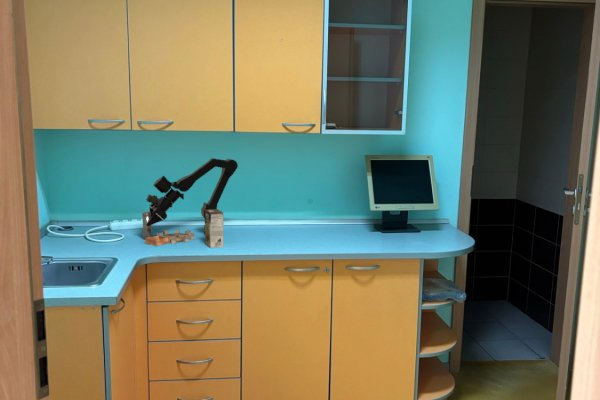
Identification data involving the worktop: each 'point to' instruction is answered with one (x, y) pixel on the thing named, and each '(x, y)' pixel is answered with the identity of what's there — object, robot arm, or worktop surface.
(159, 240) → the sprocket
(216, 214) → the coffee box
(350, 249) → the worktop surface
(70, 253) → the worktop surface
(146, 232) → the pin
